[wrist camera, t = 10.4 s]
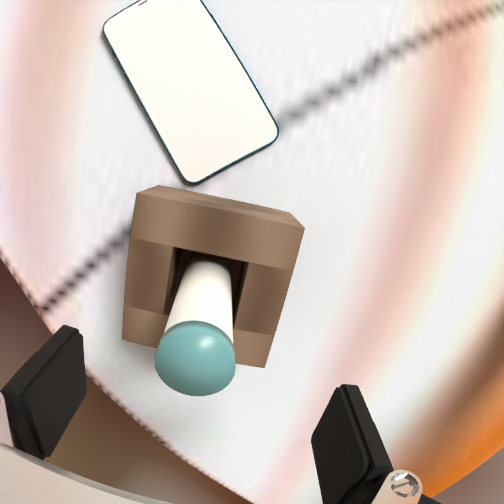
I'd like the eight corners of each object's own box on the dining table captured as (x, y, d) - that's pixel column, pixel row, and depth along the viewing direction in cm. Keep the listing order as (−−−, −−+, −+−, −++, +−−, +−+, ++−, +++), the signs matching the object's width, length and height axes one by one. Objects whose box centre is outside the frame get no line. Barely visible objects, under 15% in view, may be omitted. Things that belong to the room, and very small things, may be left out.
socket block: (289, 212, 24) (304, 228, 19) (259, 329, 27) (264, 367, 21) (158, 185, 23) (136, 193, 18) (142, 305, 26) (122, 339, 20)
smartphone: (283, 137, 23) (187, -19, 18) (284, 137, 22) (185, -24, 18) (189, 188, 24) (102, 29, 19) (187, 189, 23) (98, 25, 18)
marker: (235, 250, 24) (242, 341, 12) (226, 291, 24) (227, 401, 13) (190, 241, 23) (157, 325, 12) (183, 282, 24) (152, 388, 13)
